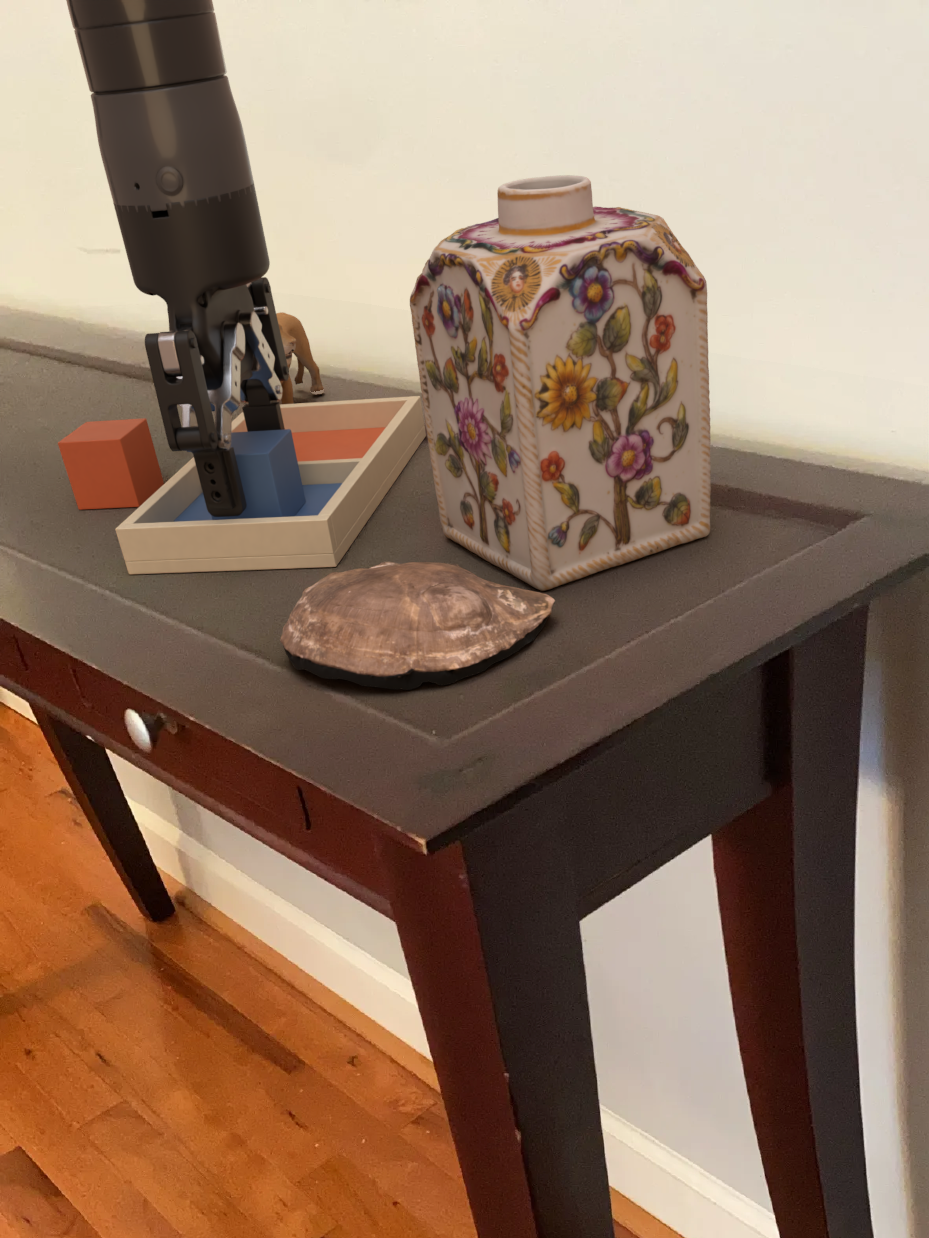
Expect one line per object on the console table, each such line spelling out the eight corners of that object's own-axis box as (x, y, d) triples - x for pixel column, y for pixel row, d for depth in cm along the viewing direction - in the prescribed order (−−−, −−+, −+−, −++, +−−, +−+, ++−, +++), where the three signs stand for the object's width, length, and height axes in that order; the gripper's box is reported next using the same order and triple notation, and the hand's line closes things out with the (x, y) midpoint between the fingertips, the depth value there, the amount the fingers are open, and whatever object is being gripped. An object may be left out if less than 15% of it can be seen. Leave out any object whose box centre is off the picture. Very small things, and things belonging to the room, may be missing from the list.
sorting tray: (128, 574, 76) (114, 528, 74) (257, 445, 94) (248, 406, 93) (336, 567, 74) (326, 519, 72) (426, 435, 92) (420, 395, 90)
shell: (435, 717, 58) (424, 644, 56) (237, 668, 64) (219, 600, 62) (572, 615, 65) (566, 547, 63) (382, 580, 71) (370, 517, 69)
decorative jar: (437, 538, 76) (386, 192, 65) (601, 487, 80) (580, 154, 69) (540, 598, 67) (502, 212, 56) (718, 538, 71) (715, 167, 60)
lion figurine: (313, 438, 94) (287, 307, 89) (242, 447, 94) (211, 316, 89) (328, 385, 106) (306, 266, 100) (265, 393, 106) (240, 274, 101)
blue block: (214, 531, 77) (195, 456, 75) (239, 505, 81) (221, 432, 78) (284, 528, 77) (268, 452, 74) (306, 501, 80) (291, 428, 77)
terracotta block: (78, 510, 87) (57, 442, 84) (105, 487, 90) (85, 421, 87) (139, 507, 86) (119, 439, 83) (164, 484, 89) (146, 417, 87)
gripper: (166, 170, 74) (233, 453, 84) (59, 216, 63) (150, 535, 73) (289, 159, 73) (342, 448, 83) (200, 203, 62) (274, 530, 72)
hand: (252, 488), depth 78 cm, fingers open, 8 cm apart
